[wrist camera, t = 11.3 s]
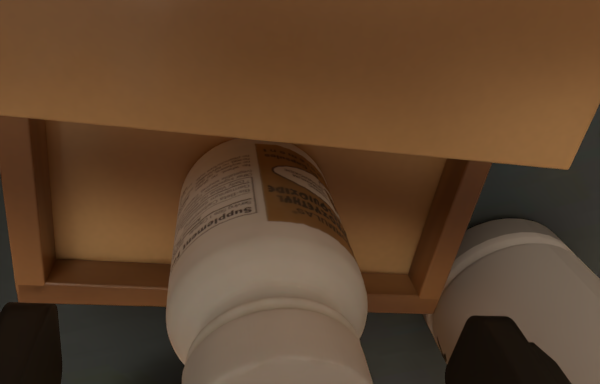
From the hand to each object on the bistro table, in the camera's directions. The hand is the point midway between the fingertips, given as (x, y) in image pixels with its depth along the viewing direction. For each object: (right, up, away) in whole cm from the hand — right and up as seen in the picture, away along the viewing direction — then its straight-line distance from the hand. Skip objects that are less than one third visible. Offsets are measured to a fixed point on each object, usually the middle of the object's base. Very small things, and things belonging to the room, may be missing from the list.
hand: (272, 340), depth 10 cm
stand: (-1, +6, +6) cm, 8 cm away
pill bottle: (-1, +3, +5) cm, 6 cm away
